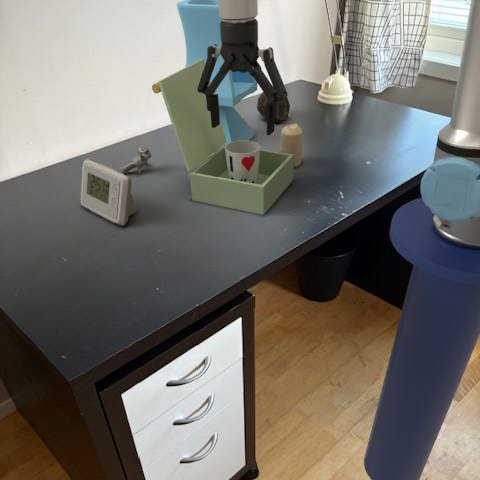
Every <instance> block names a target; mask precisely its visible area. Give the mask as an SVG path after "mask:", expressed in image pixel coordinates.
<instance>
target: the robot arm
mask: <svg viewBox="0 0 480 480" xmlns="http://www.w3.org/2000/svg"><path fill="white" fill-rule="evenodd" d="M218 2H219V17H220V18H221V19H223V20H222V21H221V22H220V37H221V43H222V46H221V47H219V46H217V44H213V45H211V46H209V47H208V49H207V61H206V64H205V67H204V70H203V73H202V76H201V79H200V82H199V85H198V88H197V91H198V92H199V93H203V94H205V96H206V101H207V110H208V111H210V112H211V125H212V128H215V127H217V126H218V125H219V124H220V116H219V101H218V94H214V93H215V92H216V89H217V88H218V86H219V85H220V83H221V82H222V81H223V79H224V78H225V76H226V75H227V73H228V72H229V70H231V71H232V72H237V71H239V72H242V73H246V72H249V74H250V75H251V76H253V78H254V79H255V80H256V82H257V86H259V88H260V89H261V90H262V93H263V92H264V94H265V95H266V96H267V98H268V99H269V102H268V103H267V119H266V136H271V135H272V134H273V133H275V131H276V130H275V129H276V128H275V127H276V126H275V125H276V124H275V123H276V122H275V119H276V118H277V117H278V115H279V101H283V100H284V99H285V98H286V97H287V98H288V96H289V95H288V91H287V88H286V87H285V84H284V80H283V78H282V75H281V74H280V71H279V68H278V66H277V64H276V61H275V55H274V49H273V47H271V46H270V47H268V48H264V49H263V48H261V49H260V47H259V22H258V19H257V16H258V15H259V14H258V13H259V11H258V10H259V6H258V5H259V4H258V3H259V1H258V0H218ZM220 54H221V56H222V58H223V60H224V63H223V64H222V66H221V67H220V70H219V71H218V73H217V75H216V76H215V78H214V79H213V81H212V82H211V84H210V85H209V87H208V84H209V81H210V79H211V76H212V73H213V70H214V67H215V64H216V61H217V57H219V55H220ZM259 58H260V59H261V61H262V62H263V65H264V67H265V70H266V72H267V75H266V74H265V73H264V70H263V69H262V66H261V64H260V63H259V62H258V60H259ZM267 76H268V77H269V78H268V77H267ZM454 92H455V93H454V99H453V102H452V103H453V105H452V110H451V116H450V122H448V123H447V125H445V126H444V127H443V128H441V129H440V130H439V132H438V135H437V139H436V145H435V150H434V158H433V162H432V163H431V164H429V166H428V167H427V168H426V170H425V172H424V174H423V176H422V178H421V180H420V187H419V189H420V195H421V198H422V199H423V201H424V203H425V205H426V206H427V207H428V208H429V209H430V210H431V212H432V213H433V214H434V218H433V222H432V229H433V231H434V232H435V234H436V235H437V236H438V237H440V238H441V239H442V240H444V241H446V242H448V243H450V244H452V245H455V246H458V247H461V248H465V249H471V250H480V0H470V5H469V11H468V17H467V23H466V30H465V35H464V40H463V46H462V52H461V57H460V64H459V68H458V75H457V80H456V87H455V91H454Z"/></svg>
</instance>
